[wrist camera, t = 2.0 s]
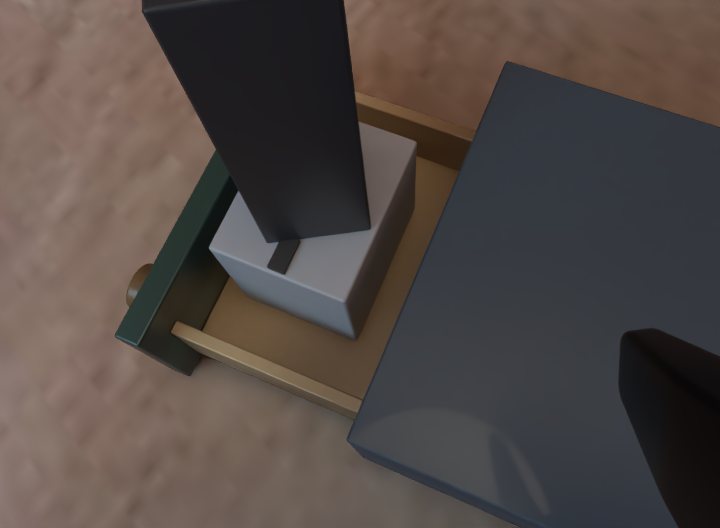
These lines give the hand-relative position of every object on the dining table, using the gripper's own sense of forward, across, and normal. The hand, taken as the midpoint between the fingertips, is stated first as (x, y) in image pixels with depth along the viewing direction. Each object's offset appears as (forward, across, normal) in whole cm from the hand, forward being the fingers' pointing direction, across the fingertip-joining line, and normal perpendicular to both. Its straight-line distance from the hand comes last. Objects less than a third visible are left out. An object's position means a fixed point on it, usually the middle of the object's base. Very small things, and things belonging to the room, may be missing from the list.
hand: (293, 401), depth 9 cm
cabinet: (+10, -8, +8) cm, 16 cm away
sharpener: (+13, 0, +4) cm, 13 cm away
